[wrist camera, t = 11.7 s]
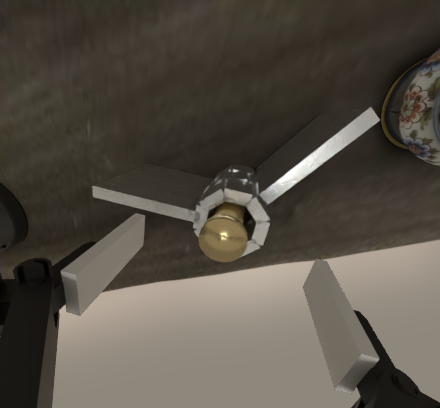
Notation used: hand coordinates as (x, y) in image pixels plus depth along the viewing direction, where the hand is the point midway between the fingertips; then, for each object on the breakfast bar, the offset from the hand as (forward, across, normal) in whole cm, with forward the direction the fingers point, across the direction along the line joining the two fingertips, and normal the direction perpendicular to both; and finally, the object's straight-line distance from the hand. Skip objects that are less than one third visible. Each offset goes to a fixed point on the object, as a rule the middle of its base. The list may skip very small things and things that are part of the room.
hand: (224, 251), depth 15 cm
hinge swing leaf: (+16, +3, +4) cm, 17 cm away
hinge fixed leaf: (+16, -5, 0) cm, 17 cm away
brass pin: (+16, 0, 0) cm, 16 cm away
